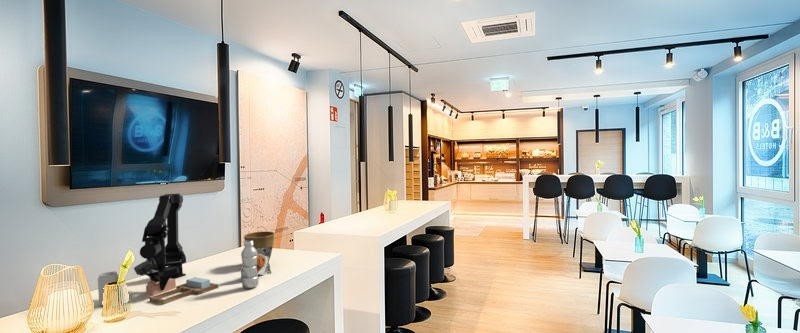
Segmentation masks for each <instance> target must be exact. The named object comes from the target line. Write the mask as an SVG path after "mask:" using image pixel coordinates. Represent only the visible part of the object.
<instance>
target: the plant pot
mask: <svg viewBox="0 0 800 333" xmlns="http://www.w3.org/2000/svg"><path fill="white" fill-rule="evenodd" d="M243 239H244V241H247V240H253V244H254V245H253V246H254V248H255V249H261V248H267V247H272V249H271V250H270V251H271V255H270V257H269V259H268V263H269V264H270V259H271V256H272V252H273V248H274V242H275V232H273V231H255V232H249V233H246V234H244V235H243Z"/></svg>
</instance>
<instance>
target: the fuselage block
mask: <svg viewBox="0 0 800 333" xmlns="http://www.w3.org/2000/svg"><path fill="white" fill-rule="evenodd" d="M146 284H147V285H145V290H146V291H145V292H146V293H145V295H146V296H150V297H153V296H156V295H159V294H162V293H165V292H168V291H171V290H174V289H176V286H177V285H176V284H177V283H176V278H174V279H172V278H169V280H168V282H167V284H166V287H165V289H164V290H161V289H160V284H159V282H156V283H155V281H151V280H150V281H147V283H146Z"/></svg>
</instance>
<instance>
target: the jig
mask: <svg viewBox="0 0 800 333" xmlns="http://www.w3.org/2000/svg"><path fill="white" fill-rule="evenodd" d="M218 288H219V284H218V283H214V282H210V286H209V287H206V288H204V289H198V288H193V287H189V286H187V285H186V282H185V283H183V284H179V285H176V288H174V289H171V290H169V291H166V292H163V293H160V294H157V295H154V296H150V297H149V302H150V303H153V304H159V305H166V304H168V303H169V304H170V303H171V302H174V301H176V300H179V299H182V298H186V297H188V296H191V295H201V294H202V295H203V294H204V293H207V292H210V291H213V290H215V289H218ZM178 293H179V294H178ZM175 294H176V295H175ZM169 296H170V297H169Z"/></svg>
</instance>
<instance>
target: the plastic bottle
mask: <svg viewBox="0 0 800 333" xmlns="http://www.w3.org/2000/svg"><path fill="white" fill-rule="evenodd" d="M253 245H254V244H253V240H247V241H245V240H244V242H243V246H244V247H243V249H242V251H241V253H240V256H241V264H242V263H243V278H242V281H241V285H242V287H243V289H253V288H256V287H258V285H259V279H260V278H259V276H257V266H256V265H257V255H258V252H257V250H256V249H255V248H254V246H253Z"/></svg>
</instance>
